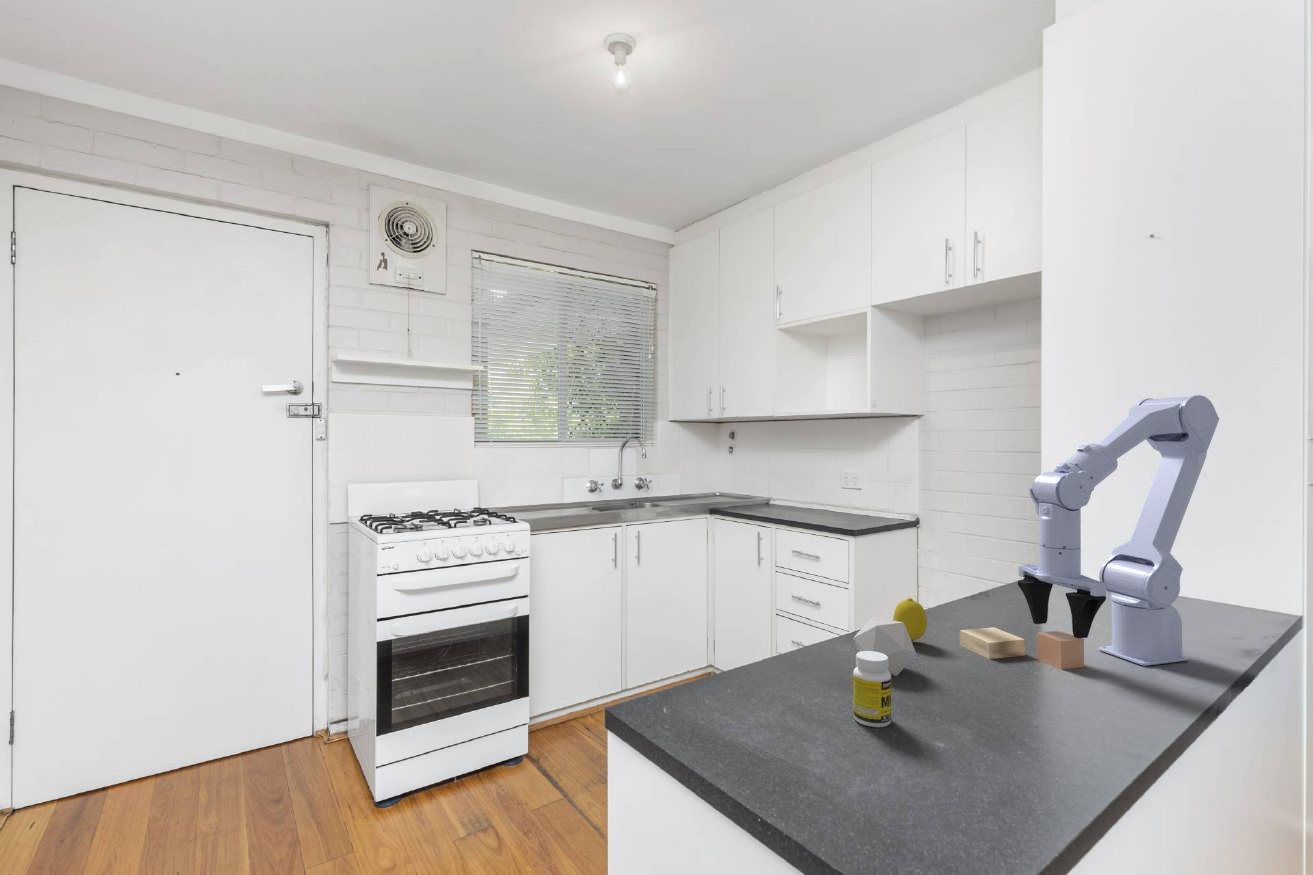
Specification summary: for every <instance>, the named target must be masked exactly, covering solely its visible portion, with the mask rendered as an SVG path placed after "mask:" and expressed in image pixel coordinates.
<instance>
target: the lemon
mask: <svg viewBox="0 0 1313 875" xmlns="http://www.w3.org/2000/svg"><path fill="white" fill-rule="evenodd" d="M893 620H894V621H899V622H904V624H905V627H906V629H907V632H908V634H909V637H910V639H911V642H912V643H913V642H915V641H916V640H919V639H921V638H922V637H923V636H924V634H925V632H926V630H927V626H928V618H927V615H926V610H925V609H924V607H923V606H922V604H920V603H919V602H917V601H915V600H914V599H913V598H911V597H908V598H907V599H904V600H902V601H900V602H899V603H898V604H897V605H896V607H895V608H894V614H893Z"/></svg>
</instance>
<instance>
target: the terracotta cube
mask: <svg viewBox="0 0 1313 875" xmlns="http://www.w3.org/2000/svg"><path fill="white" fill-rule="evenodd" d="M1036 633H1037V634H1036V636H1037V637H1036V642H1037V646H1036V648H1037V650H1036V652H1037V656H1036V657H1037V660H1038V661H1040V662H1042V663H1043V664H1044V663H1045V664H1047V665H1049V666H1051V667H1054V668H1057V669H1059V670H1061V671H1063V670H1067V669H1076V668H1084V667H1085V638H1079V639H1078V638H1075V637H1074V636H1073V634H1070V633H1067V632H1064V631H1062V630H1054V631H1044V632H1042V631H1041V632H1036ZM1037 660H1036V661H1037Z"/></svg>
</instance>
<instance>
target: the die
mask: <svg viewBox="0 0 1313 875" xmlns="http://www.w3.org/2000/svg"><path fill="white" fill-rule="evenodd" d="M853 642H854V644H855V646H856V648H857V651H858V652H861V651H874V652H880V653H883V654H885V655H886V656H887V657H888V664H889V667H888V671H889V672H890V674H891V676H894V677H898V675H899V674H900V673H902V671H903V670H904V669H905V667H906V666H908V664H909V663H910V661H911V660H913V658H914V657H915V655H916V654H917V652H916V649H915V646H914V645H913V644H914V643H913V642H911V639H910V637H909V634H908V632H907V629H906V627H905V624H904V622H899V621H894V619H889V618H883V617H879V616H871V618H870V619H869V620H868V621H867V622H866V623H865V624H864V625H863V626H862V628H861V629H860V630H859V631H858V632H857V633H856V634H855V635H854V637H853Z"/></svg>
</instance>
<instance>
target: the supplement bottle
mask: <svg viewBox="0 0 1313 875" xmlns="http://www.w3.org/2000/svg"><path fill="white" fill-rule="evenodd" d="M855 665H856V667H855V668H854V669H853V671H852V677H853V678H852V680H853V681H852V682H853V685H852V686H853V687H852V688H853V693H852V694H853V701H852V702H853V703H852V704H853V705H852V707H853V708H852V709H853V710H852V711H853V713H852V714H853V715H852V716H853V718H854V720H855V721H856V722H858V723H859V724H861V725H863V726H867V727H871V728H884V727H887V726H889V725H891V723H892V675H891V674H890V672H889V671H888V667H889V664H888V657H887V656H886V655H885V654H883V653H880V652H874V651H861V652H859V651H858V652H857V653H856V655H855Z"/></svg>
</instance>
